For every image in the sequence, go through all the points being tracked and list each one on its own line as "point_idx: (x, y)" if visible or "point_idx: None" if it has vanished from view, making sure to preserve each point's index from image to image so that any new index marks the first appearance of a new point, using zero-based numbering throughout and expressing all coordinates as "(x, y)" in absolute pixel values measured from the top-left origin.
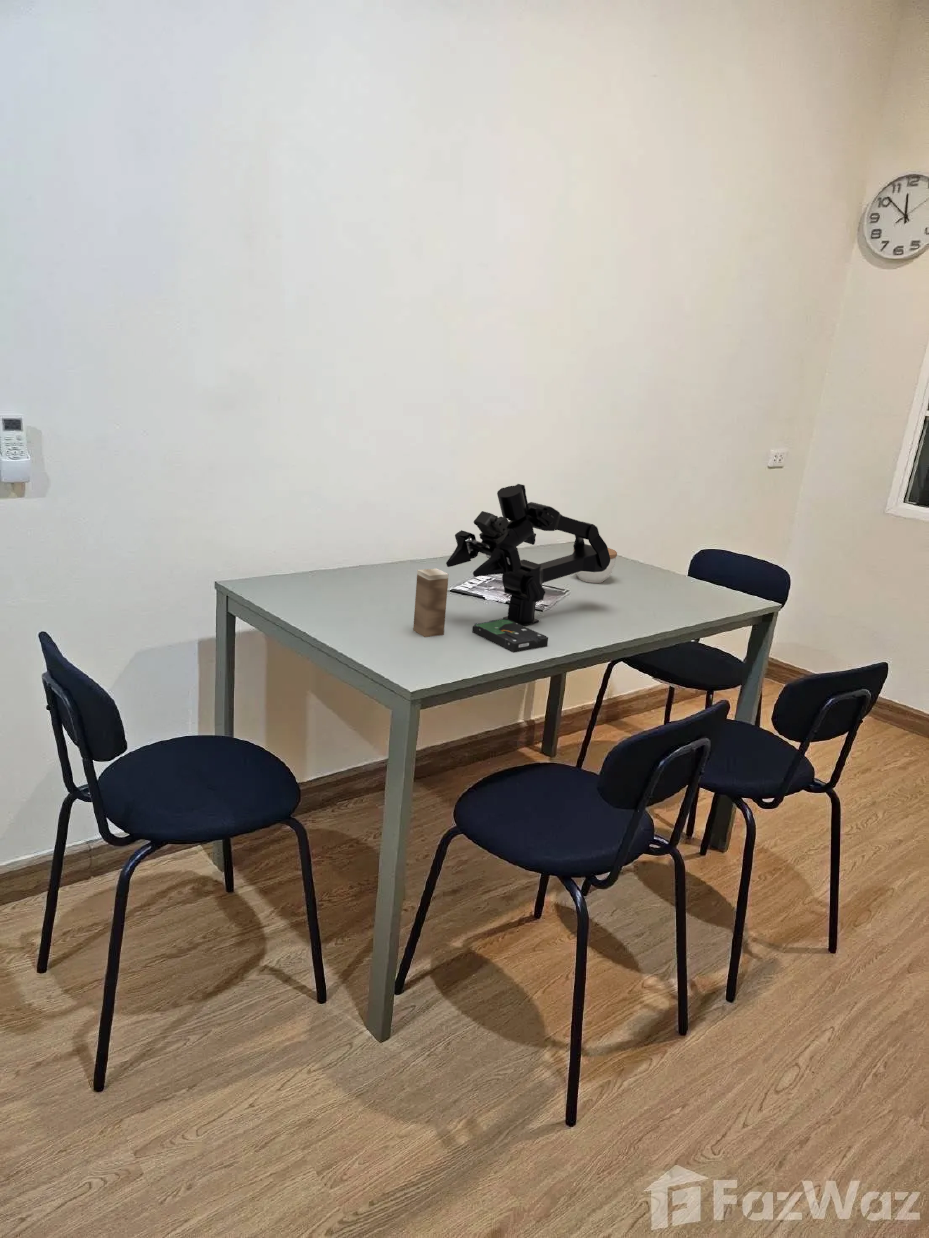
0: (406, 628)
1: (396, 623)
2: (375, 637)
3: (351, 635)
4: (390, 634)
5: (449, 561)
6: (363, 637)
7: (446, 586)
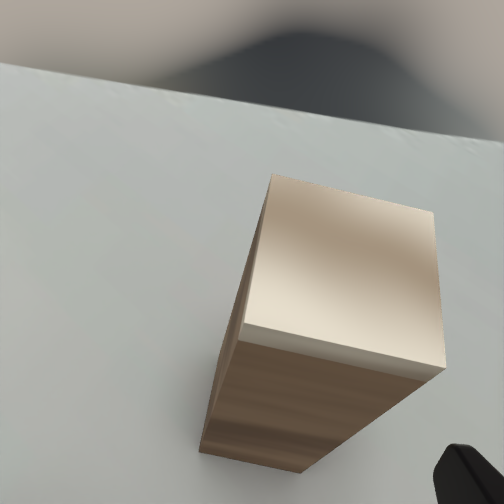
0: None
1: None
2: None
3: (343, 185)
4: None
5: (468, 475)
6: None
7: (230, 355)
